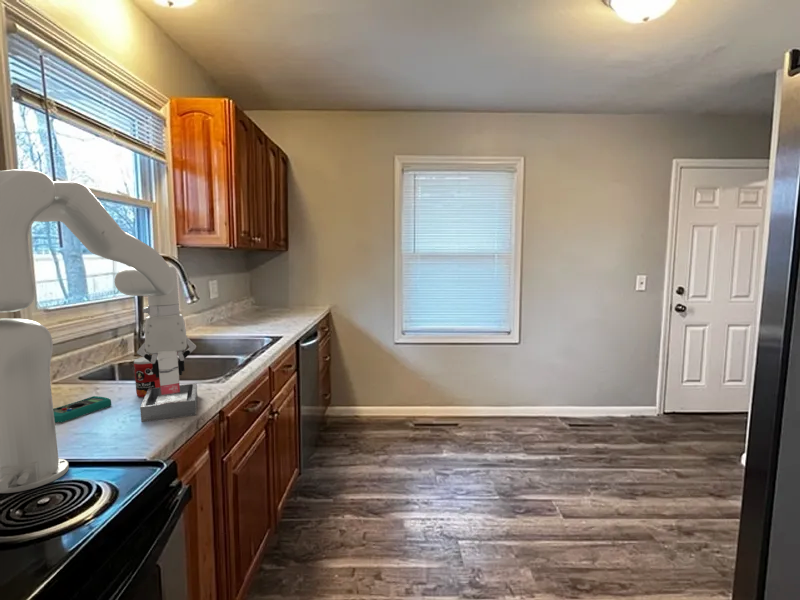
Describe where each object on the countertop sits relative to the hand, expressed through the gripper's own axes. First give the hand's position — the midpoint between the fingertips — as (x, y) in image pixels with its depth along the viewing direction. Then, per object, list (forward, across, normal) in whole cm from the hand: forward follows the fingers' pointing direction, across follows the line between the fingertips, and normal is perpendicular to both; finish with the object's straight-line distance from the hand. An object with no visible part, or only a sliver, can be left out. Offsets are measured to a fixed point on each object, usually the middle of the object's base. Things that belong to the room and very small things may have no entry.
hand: (169, 374), depth 132 cm
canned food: (+10, -7, +18) cm, 22 cm away
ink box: (+5, 0, 0) cm, 5 cm away
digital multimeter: (+10, -24, +7) cm, 27 cm away
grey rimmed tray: (+10, 0, 0) cm, 10 cm away
